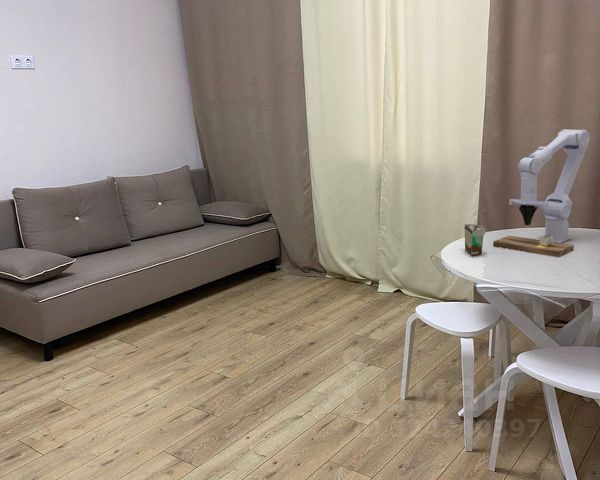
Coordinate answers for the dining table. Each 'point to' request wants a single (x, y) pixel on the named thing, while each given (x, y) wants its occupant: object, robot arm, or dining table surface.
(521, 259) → the dining table surface
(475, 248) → the food container
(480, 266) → the dining table surface
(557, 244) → the fader console
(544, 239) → the fader knob
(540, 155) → the robot arm
